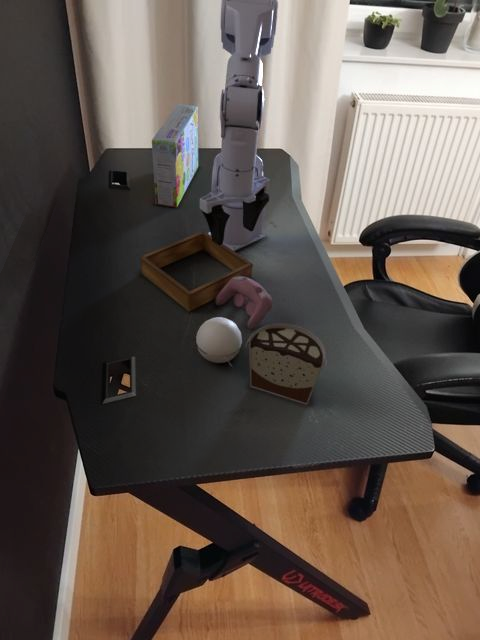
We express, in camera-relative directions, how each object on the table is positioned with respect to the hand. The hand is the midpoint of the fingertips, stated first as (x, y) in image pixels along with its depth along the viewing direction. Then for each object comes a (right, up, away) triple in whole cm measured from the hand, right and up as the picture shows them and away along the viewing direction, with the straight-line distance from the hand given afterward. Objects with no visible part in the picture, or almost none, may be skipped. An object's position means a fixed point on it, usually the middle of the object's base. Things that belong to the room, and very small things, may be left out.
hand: (233, 235), depth 102 cm
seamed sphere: (-2, -23, -10) cm, 25 cm away
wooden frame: (-7, -7, +6) cm, 11 cm away
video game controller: (+2, -14, -1) cm, 14 cm away
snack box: (-15, +18, +31) cm, 39 cm away
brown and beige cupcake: (+9, -26, -12) cm, 30 cm away
